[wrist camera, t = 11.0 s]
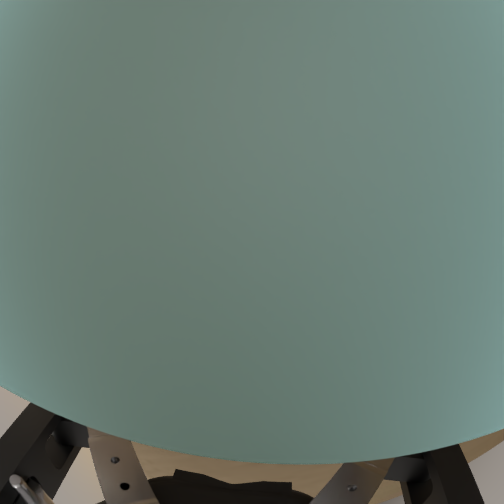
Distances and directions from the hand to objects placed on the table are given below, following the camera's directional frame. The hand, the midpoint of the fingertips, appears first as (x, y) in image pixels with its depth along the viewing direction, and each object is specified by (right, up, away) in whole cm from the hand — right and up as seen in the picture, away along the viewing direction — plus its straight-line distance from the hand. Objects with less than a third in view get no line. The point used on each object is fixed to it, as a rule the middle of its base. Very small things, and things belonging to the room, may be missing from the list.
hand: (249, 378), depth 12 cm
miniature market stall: (+2, +9, +10) cm, 14 cm away
